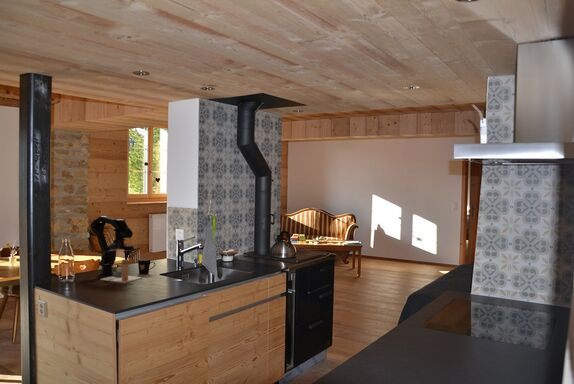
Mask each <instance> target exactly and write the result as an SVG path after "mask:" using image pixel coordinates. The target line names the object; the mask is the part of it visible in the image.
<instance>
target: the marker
mask: <svg viewBox="0 0 574 384" xmlns="http://www.w3.org/2000/svg"><path fill="white" fill-rule="evenodd" d="M129 262H130V261H129V259H127V260H125V259H122V261H121V267H122V281H127V280H128V276H129Z"/></svg>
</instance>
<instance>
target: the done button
mask: <svg viewBox="0 0 574 384" xmlns="http://www.w3.org/2000/svg"><path fill="white" fill-rule="evenodd" d="M115 269H116V271H115V272H116V273H122V266H121V267H116V268H115Z"/></svg>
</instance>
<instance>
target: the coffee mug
mask: <svg viewBox="0 0 574 384" xmlns="http://www.w3.org/2000/svg"><path fill="white" fill-rule="evenodd" d="M152 263H153V264H154V265H153V266H152V267H151V266H150V265H151V264H152ZM137 265H138V275H142V276H144V275H149V273H150V270H152V269H153V268H154V267H155V266H156V262H155V261H151V259H150V258H138V259H137ZM150 267H151V268H150Z"/></svg>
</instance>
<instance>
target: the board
mask: <svg viewBox="0 0 574 384" xmlns="http://www.w3.org/2000/svg"><path fill="white" fill-rule="evenodd" d="M112 273H113V274H112V276H107V277H103V278H100V281H107V282H112V283H113V282H114V283H121V284H127V283H130V282H133V281H134V282H135V281H136V280H141V279H143V277H140V276H133V275H128V280H127V281H122V273H116V271H114V272H112Z"/></svg>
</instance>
